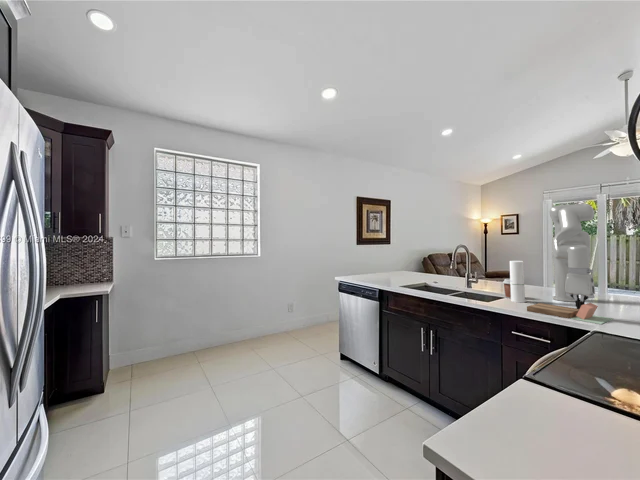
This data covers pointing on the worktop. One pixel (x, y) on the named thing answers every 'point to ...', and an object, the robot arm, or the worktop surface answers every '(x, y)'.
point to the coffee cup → (507, 288)
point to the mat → (594, 319)
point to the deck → (553, 310)
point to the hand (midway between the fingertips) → (580, 308)
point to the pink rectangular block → (586, 310)
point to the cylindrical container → (517, 281)
